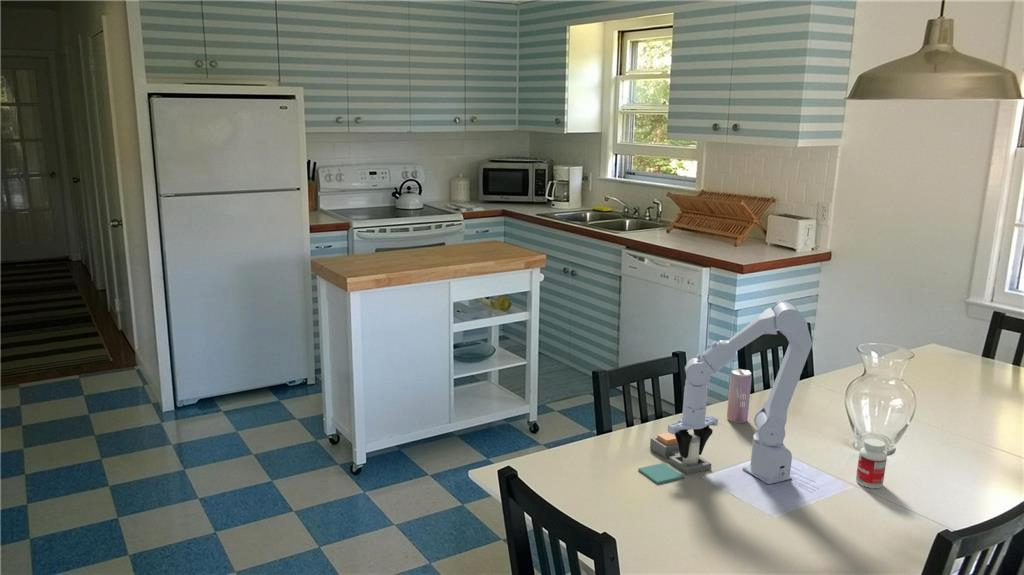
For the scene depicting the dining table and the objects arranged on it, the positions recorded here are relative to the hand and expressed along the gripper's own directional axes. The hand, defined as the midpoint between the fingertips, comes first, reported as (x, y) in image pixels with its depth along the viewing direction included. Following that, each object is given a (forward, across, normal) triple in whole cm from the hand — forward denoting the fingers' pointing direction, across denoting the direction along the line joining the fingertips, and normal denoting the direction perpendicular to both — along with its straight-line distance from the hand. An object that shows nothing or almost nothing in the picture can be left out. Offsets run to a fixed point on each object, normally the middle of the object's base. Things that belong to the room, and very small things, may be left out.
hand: (690, 455), depth 199 cm
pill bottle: (+3, -35, +26) cm, 44 cm away
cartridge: (+3, 0, 0) cm, 3 cm away
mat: (+3, +10, +1) cm, 10 cm away
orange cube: (+3, 0, -10) cm, 10 cm away
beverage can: (+3, -33, -19) cm, 38 cm away
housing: (+3, 0, -5) cm, 5 cm away
